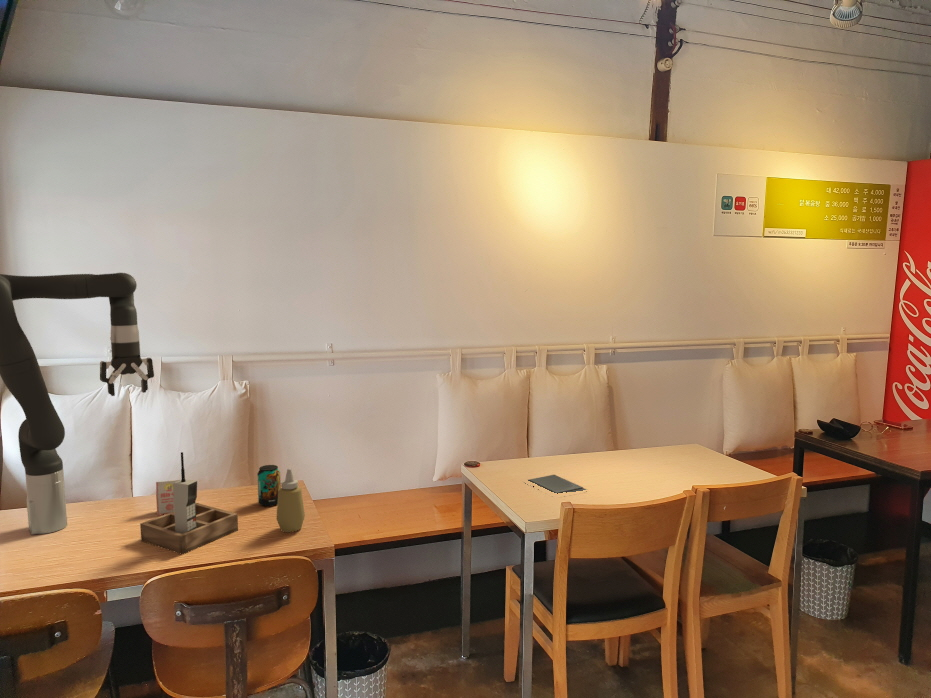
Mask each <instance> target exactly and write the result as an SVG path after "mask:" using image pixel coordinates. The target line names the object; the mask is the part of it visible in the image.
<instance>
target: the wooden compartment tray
mask: <svg viewBox="0 0 931 698" xmlns="http://www.w3.org/2000/svg"><path fill="white" fill-rule="evenodd" d="M238 517H239V516H238V513H236V512H232V511H229V510H224V509H221V508H218V507H217V508H216V507H214V506H210V505H206V504H203V503H199V502H196V522H197V528H196V529H194V530H191V531H189V532H186V533H184V534H181V533H178V532H175V514H174V512H171V513H168V514H164V515H159V516H157V517H154V518H152V519H148V520H146V521H144V522H141V523H139V524H140V525H139V527H140V540H141V541H142V542H144V543H148V544H149V543H150V544H149V545H152V544H153V546H155V545H156V547H158V546H159V547H158V548H161V547H162V549H164V548H165V549H164V550H167V549H169V550H168V551H170V550H171V552H173V551H175V552H174V553H176V552H177V554H179V553H181V554H180V555H182V554H183V555H185V554H187V553H189V552H192V551H194V550H196V549H199V548H201V547H203V546H205V545H208V544H210V543H212V542H215V541H216V540H220V539H221V538H223V537H227V536H228V535H231V534H233V533H235V532H238V531H239V521H238V520H239V518H238ZM198 547H199V548H198ZM191 550H192V551H191ZM188 551H189V552H188ZM186 552H187V553H186ZM184 553H185V554H184Z"/></svg>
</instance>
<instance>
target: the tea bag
mask: <svg viewBox="0 0 931 698" xmlns="http://www.w3.org/2000/svg"><path fill="white" fill-rule="evenodd" d="M180 480H181V479H175V480H164V481H163V480H162V481H156V482H155V484H156V485H155V486H156V487H155V488H156V489H155V491H156V492H155V493H156V494H155V495H156V497H155V498H156V515H157V516H162V514H164V515H165V514H168V513H171V512H174V495H173V484H174V483H175V482H177V481H180Z"/></svg>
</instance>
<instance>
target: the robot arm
mask: <svg viewBox="0 0 931 698" xmlns="http://www.w3.org/2000/svg"><path fill="white" fill-rule="evenodd" d="M137 284H138V283H137V280H136V279H135V278H134V276H133V275H131V274H129V273H127V272H116V273H114V272H113V273H102V274H101V273H99V274H95V273H94V274H93V273H77V274H76V273H75V274H69V273H68V274H54V275H53V274H51V275H31V276H30V275H15V274H14V275H12V274H5V273H0V378H1V380H2V382H3V384H4V385H5V387H6V388H7V389H8V391H9V392H10V394H11V395H12V396H13V398H14V399H15V400H16V401H17V403H18V404H19V406H20V407H21V409H22V411H23V413H24V415H25V419H24V420H23V421H22V422H21V424H20V426H19V429H18V435H17V437H18V445H19V454H20V460H21V464H22V465H23V467H24V472H25V473H24V475H25V476H24V477H25V485H26V496H27V497H26V511H27V523H28V529H29V532H30V535H31V536H32V535H41V534H50V533H54V532H57V531H60V530H62V529H64V528H66V527H67V526H68V516H67V502H66V501H67V499H66V490H65V477H64V463H63V459H62V458H61V456H60V455H59V454H58V452H57V449H58V448H59V447H60V446H61V444H62V443H63V442H64V440H65V436H66V432H65V431H66V430H65V426H64V423H63V421H62V420H61V418H60V416H59V414H58V412H57V410H56V408H55V406H54V404H53V402H52V399H51V398H50V393H49V392H48V389H47V388H48V387H47V385H46V382H45V380H44V378H43V375H42V371H41V367H40V365H39V362H38V361H39V360H38V359H37V355H36V354H35V351H34V348H33V347H32V345H31V342H30V341H29V339H28V337H27V334H26V333H25V332H24V329H22V327H21V325H20V323H19V320H18V317H17V314H16V310H15V307H14V306H15V305H14V301H19V300H26V299H51V300H84V299H85V300H86V299H95V298H108V301H109V306H110V308H109V309H110V314H109V315H110V337H109V339H110V347H111V348H110V349H111V360H110V361H104V360H100V362H99V380H100V381H101V382H102V383H106V384H107V393H108V395H110V396H111V397H115V395H116V392H115V383H114V382H115V381H116V379H118V378H119V376H120V375H123V376H124V375H127V374H128V375H134V374H137V375H138V376H139V377H140V378H141V380H140V385H141V389H140V390H141V392H142V394H143V393H146V392H147V391H148V390H149V383H148V380H149V379H151V378H154V377H155V373H154V363H153V359H152V358H151V357H146V358H142V357H141V347H140V345H141V344H140V331H139V326H138V313H137V312H138V311H137V308H136V306H135V295H134V294H135V291H136V289H137V286H138V285H137ZM142 364H144V366H146V370H147V373H146V374H145V372H144V371H143V370H141V368H140V367H141V366H142ZM110 366H111V367H112V368H113V370H112V372H111V373H110V375H109V377H107V370H108V369H109V368H110Z"/></svg>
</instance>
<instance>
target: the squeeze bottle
mask: <svg viewBox="0 0 931 698" xmlns="http://www.w3.org/2000/svg"><path fill="white" fill-rule="evenodd" d="M280 483H281V489H280V490H279V491H278V504H277V505H276V506H277V507H276V517H275V518H276V521H277V523H278V526H279V528H280V530H282V531H281V532H283V531H284V533H292V532H291V531H295V532H298V531H300V530H301V529H302V527H303V524H304V521H305V517H306V512H305V505H304V498H303V492H302V491H303V490H302V488H301V487H299V480H298V479H295V478H294V474H293V471H292V468H287V470H286V475H285V479H284V480H282V481H280ZM299 529H300V530H299ZM297 530H298V531H297Z"/></svg>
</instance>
